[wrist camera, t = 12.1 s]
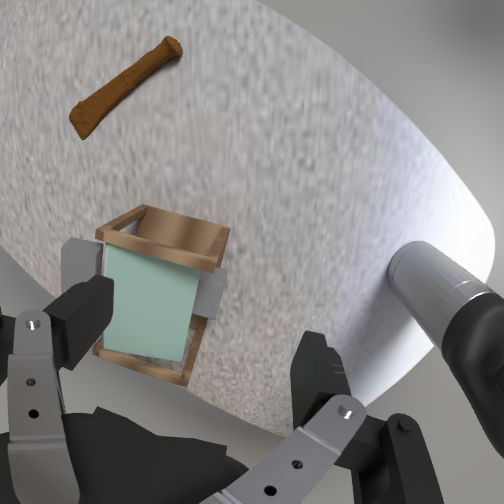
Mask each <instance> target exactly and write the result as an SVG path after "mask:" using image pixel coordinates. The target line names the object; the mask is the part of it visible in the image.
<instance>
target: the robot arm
mask: <svg viewBox="0 0 504 504" xmlns="http://www.w3.org/2000/svg"><path fill="white" fill-rule="evenodd" d="M388 282H389V285H390V287H391V289H392V290H393V292H394V293H395V294H396V295H397V297H398V298H399V299H400V301H401V302H402V303H403V305H404V306H405V307H406V308H407V310H408V311H409V312H410V314H411V315H412V316H413V318H414V319H415V320H416V321H417V323H418V324H419V325H420V327H421V328H422V329H423V331H424V332H425V334H426V335H427V336H428V338H429V339H430V340H431V342H432V343H433V344H434V346H435V347H436V348H437V350H438V351H439V353H440V354H441V355H442V357H443V358H444V360H445V361H446V363H447V364H448V366H449V368H450V370H451V372H452V373H453V375H454V377H455V378H456V380H457V381H458V383H459V385H460V386H461V388H462V390H463V391H464V393H465V395H466V397H467V398H468V400H469V402H470V404H471V406H472V408H473V410H474V412H475V414H476V416H477V418H478V420H479V422H480V424H481V426H482V428H483V430H484V432H485V434H486V436H487V437H488V439H489V441H490V442H491V444H492V445H493V447H494V448H495V449H496V451H497V452H498V453H499V454H500V455H501V456H502V457H503V458H504V299H503V298H502V297H501V296H499V295H498V294H497V293H496V292H494V291H493V290H492V289H491V288H489V287H488V286H487V285H486V284H484V283H483V282H481V281H480V280H479V279H478V278H476V277H475V276H474V275H472V274H471V273H470V272H468V271H467V270H466V269H464V268H463V267H462V266H460V265H459V264H457V263H456V262H455V261H453V260H452V259H450V258H449V257H448V256H446V255H445V254H444V253H442V252H441V251H439V250H438V249H436V248H435V247H433V246H432V245H431V244H429V243H427V242H424V241H414V242H411V243H408V244H406V245H405V246H403V247H402V248H401V249H400V250H399V251H398V252H397V253H396V254H395V255H394V257H393V259H392V261H391V263H390V266H389V269H388ZM113 305H114V280H113V279H111V278H108V277H105V276H102V275H99V274H96V275H94V276H93V277H92V278H91V279H90V280H88V281H87V282H84V281H83V282H81V283H78V284H75V285H73V286H72V287H70V288H69V289H68V290H67V291H66V292H64V293H63V294H62V295H61V296H60V297H58V298H57V299H56V300H54V301H53V302H52V303H51V304H50V305H48V306H47V307H46V308H45V309H44V310H43V311H40V310H27V311H24V312H22V313H20V314H19V315H18V316H17V318H14V317H9V316H5V315H2V312H1V307H0V386H1V384H2V383H3V382H4V381H5V380H6V378H7V377H8V379H7V381H8V382H7V386H8V387H7V393H8V394H7V395H8V419H9V420H8V421H9V432H6V433H2V434H0V504H300V503H301V502H302V501H303V499H305V497H306V496H307V495H308V494H309V493H310V492H311V491H312V489H313V488H314V487H315V486H316V485H317V483H318V482H319V481H320V480H321V479H322V478H323V476H324V475H325V474H326V473H327V472H328V470H329V469H330V468H331V467H332V465H333V464H334V465H337V466H340V467H343V468H347V469H350V470H351V475H352V484H353V495H354V504H444V501H443V497H442V494H441V491H440V487H439V484H438V481H437V477H436V474H435V471H434V468H433V464H432V462H431V458H430V455H429V452H428V450H427V446H426V443H425V441H424V438H423V435H422V432H421V429H420V427H419V425H418V423H417V422H416V421H415V420H414V419H413V418H411V417H410V416H407V415H405V414H400V413H397V414H393V415H391V416H390V417H389V418H388V420H387V421H383V420H379V419H377V418H374V417H371V416H368V415H367V414H366V409H365V407H364V406H363V404H362V403H361V402H360V401H358V400H357V399H355V398H353V397H352V396H351V392H350V389H349V385H348V381H347V378H346V375H345V371H344V368H343V367H342V366H343V364H342V361H341V357H340V356H339V354H338V353H337V352H336V351H335V349H334V348H331V347H327V343H326V339H325V335H324V334H321V333H316V332H311V331H305V332H304V334H303V336H302V339H301V341H300V344H299V346H298V349H297V351H296V353H295V356H294V358H293V361H292V364H291V369H290V379H291V394H292V410H293V427H294V431H293V432H292V433H291V434H290V435H289V436H288V437H287V438H286V439H285V440H284V441H282V442H281V443H280V444H279V445H278V446H277V447H276V448H275V449H274V450H272V451H271V452H270V453H269V454H268V455H266V456H265V457H264V458H263V459H262V460H261V461H259V462H258V463H257V464H256V465H255V466H253V467H252V468H251V469H249V468H247V467H246V466H245V465H243V464H242V463H240V462H239V461H237V460H235V459H233V458H232V457H229V456H227V455H226V450H227V446H225V445H220V444H215V443H211V442H206V441H202V440H198V439H194V438H179V437H167V436H158V435H155V434H153V433H152V432H150V431H148V430H146V429H145V428H143V427H141V426H139V425H138V424H136V423H135V422H133V421H131V420H129V419H128V418H126V417H123V416H121V415H118V414H115V413H112V412H110V411H108V410H105V409H103V408H100V407H98V406H97V408H96V409H95V411H94V413H93V414H87V413H71V414H66V410H65V405H64V400H63V395H62V389H61V382H60V376H59V370H60V368H61V367H64V368H67V369H68V370H71V371H72V370H73V369H74V368H75V367H76V365H77V364H78V363H79V361H80V360H81V359H82V358H83V356H84V355H85V354H86V352H87V351H88V350H89V348H90V347H91V346H92V345H93V344H94V342H95V341H96V340H97V339H98V337H99V336H100V335H101V334H102V333H103V331H104V330H105V329H106V328H107V326H108V325H109V324H110V322H111V319H112V316H113Z"/></svg>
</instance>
